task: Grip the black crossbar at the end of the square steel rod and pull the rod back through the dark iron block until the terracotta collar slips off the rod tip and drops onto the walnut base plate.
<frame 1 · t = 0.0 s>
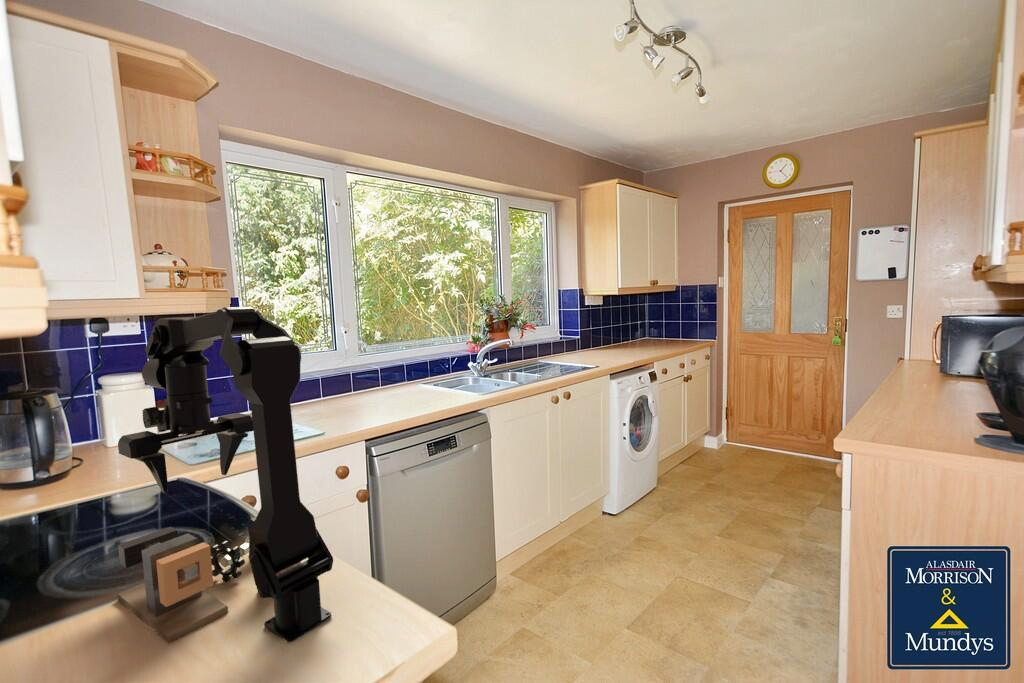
hand: (195, 483, 84), 15 cm above the countertop, tool pointing down, fingers open, 9 cm apart
valve: (252, 564, 85), on the countertop
lighter: (281, 582, 79), on the countertop
base plate: (171, 606, 73), on the countertop
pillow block: (176, 609, 73), resting on base plate
collar: (187, 593, 70), point 4 cm above the countertop, touching rod
rod: (167, 558, 73), point 7 cm above the countertop, slide at 0.0 cm, touching collar
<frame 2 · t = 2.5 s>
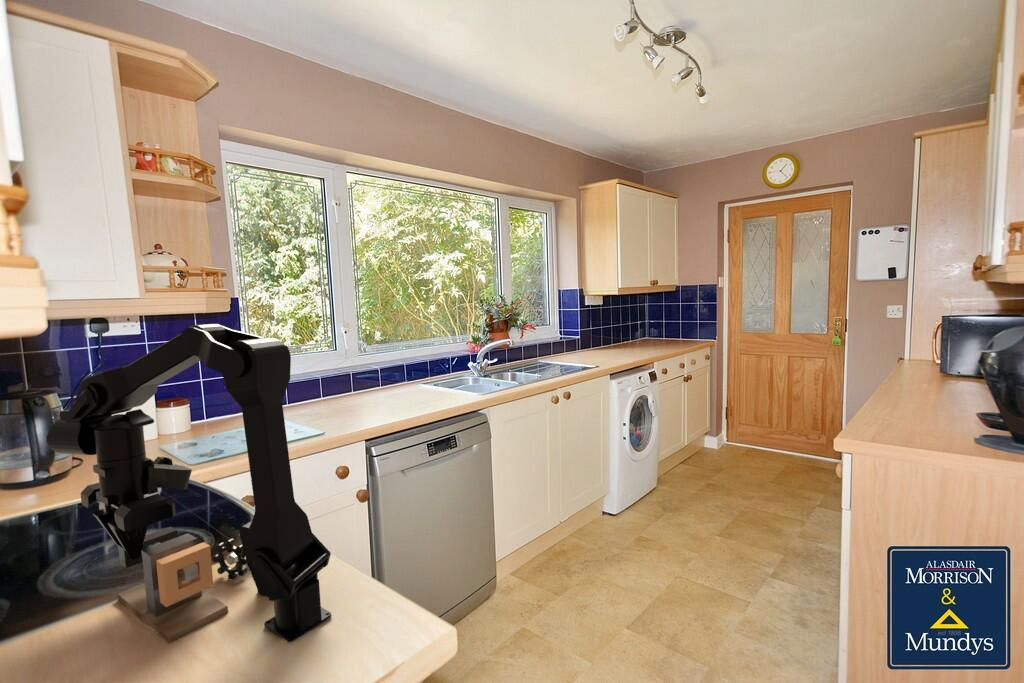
hand: (131, 556, 75), 7 cm above the countertop, tool pointing down, fingers closed on rod, 2 cm apart
rod: (167, 558, 73), point 7 cm above the countertop, slide at 0.0 cm, touching collar, gripper
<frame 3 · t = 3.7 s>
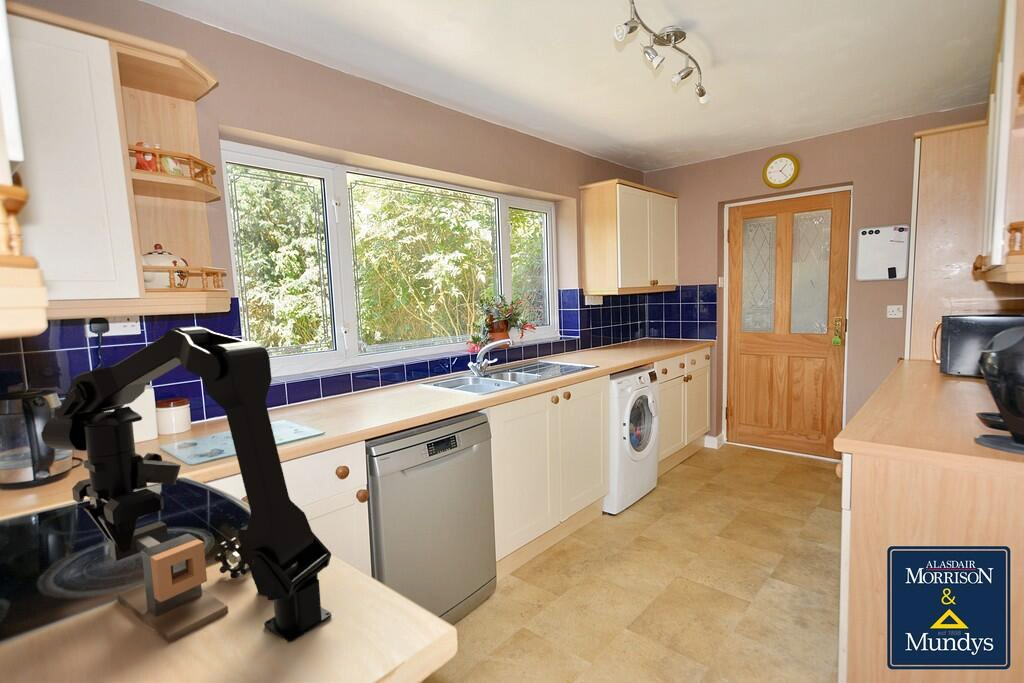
hand: (122, 549, 77), 7 cm above the countertop, tool pointing down, fingers closed on rod, 2 cm apart
collar: (181, 589, 71), point 4 cm above the countertop, touching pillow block
rod: (156, 551, 75), point 8 cm above the countertop, slide at 3.9 cm, touching gripper
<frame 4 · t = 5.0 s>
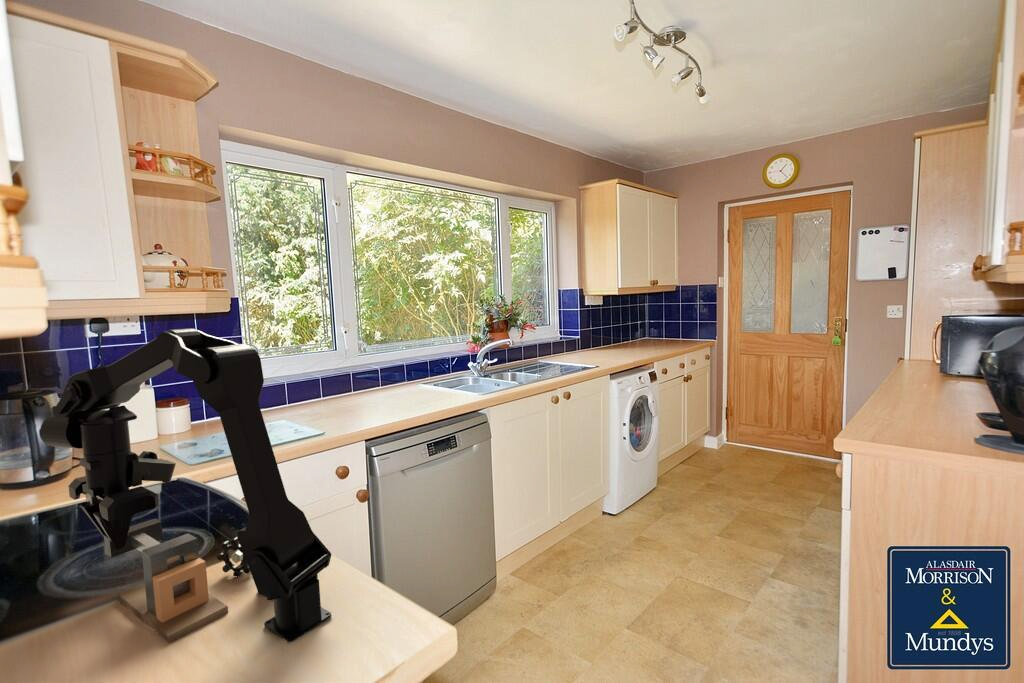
hand: (117, 545, 78), 7 cm above the countertop, tool pointing down, fingers closed on rod, 2 cm apart
collar: (183, 608, 71), point 1 cm above the countertop, touching base plate
rod: (151, 547, 76), point 8 cm above the countertop, slide at 6.0 cm, touching gripper
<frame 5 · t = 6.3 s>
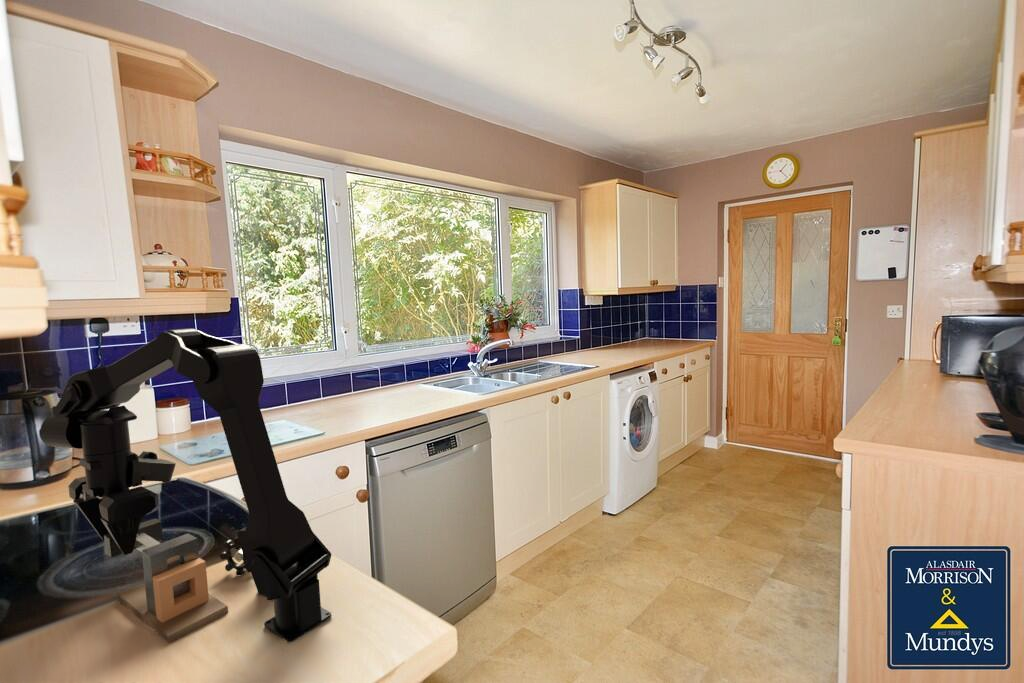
hand: (117, 546, 78), 7 cm above the countertop, tool pointing down, fingers open, 9 cm apart
rod: (151, 547, 76), point 8 cm above the countertop, slide at 6.0 cm
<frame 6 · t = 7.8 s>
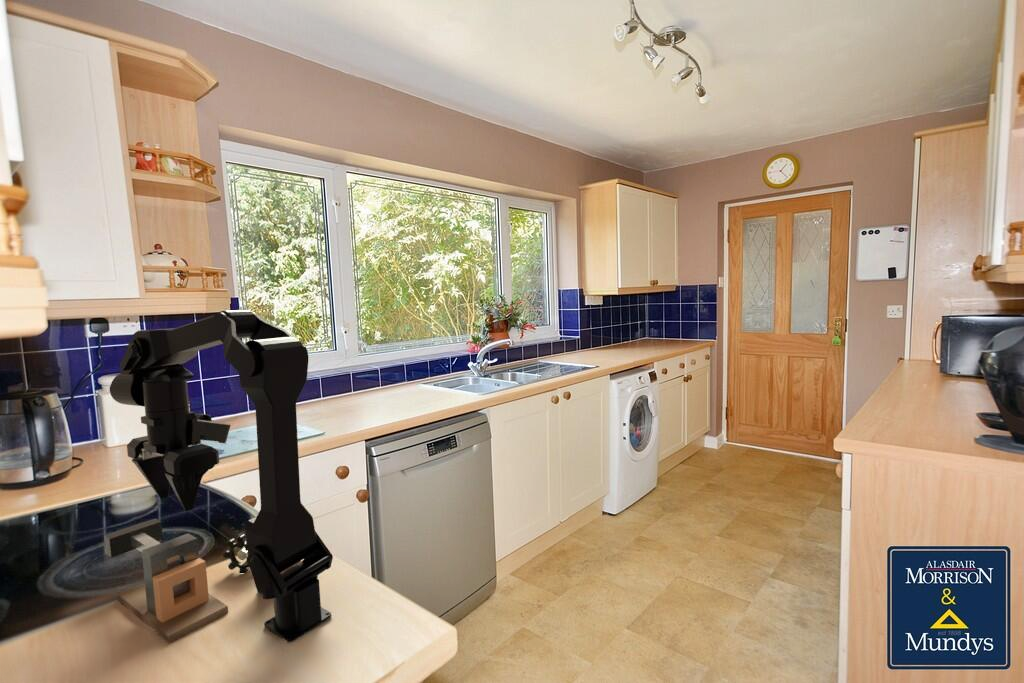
hand: (176, 503, 79), 13 cm above the countertop, tool pointing down, fingers open, 9 cm apart
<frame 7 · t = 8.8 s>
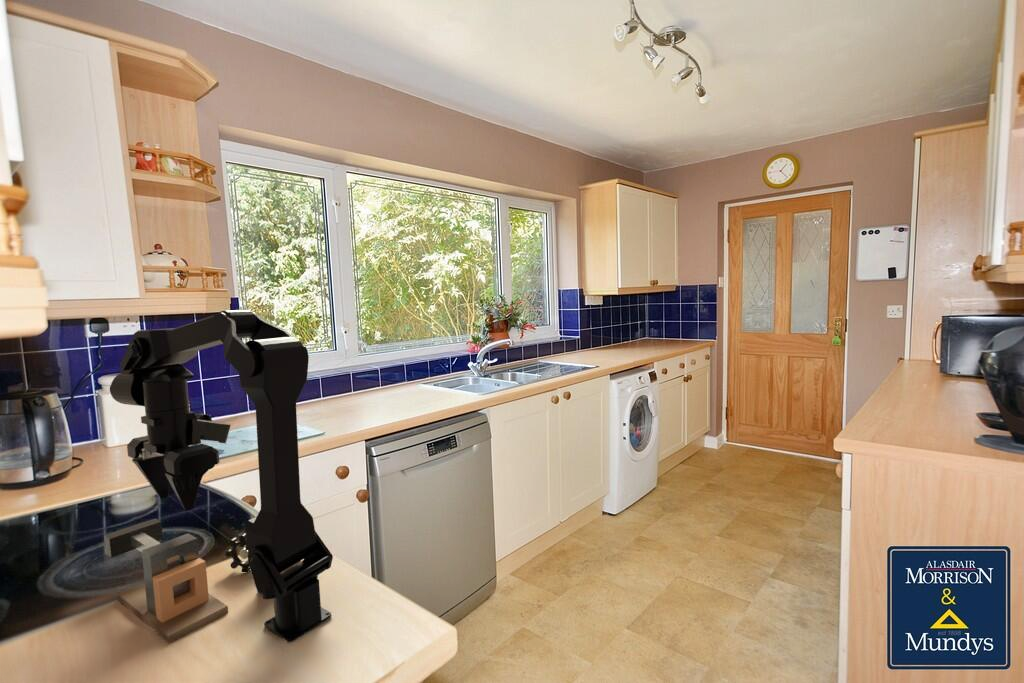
hand: (176, 503, 79), 13 cm above the countertop, tool pointing down, fingers open, 9 cm apart
at the end: rod slide at 6.0 cm; collar touching base plate; collar point 1.0 cm above the countertop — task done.
